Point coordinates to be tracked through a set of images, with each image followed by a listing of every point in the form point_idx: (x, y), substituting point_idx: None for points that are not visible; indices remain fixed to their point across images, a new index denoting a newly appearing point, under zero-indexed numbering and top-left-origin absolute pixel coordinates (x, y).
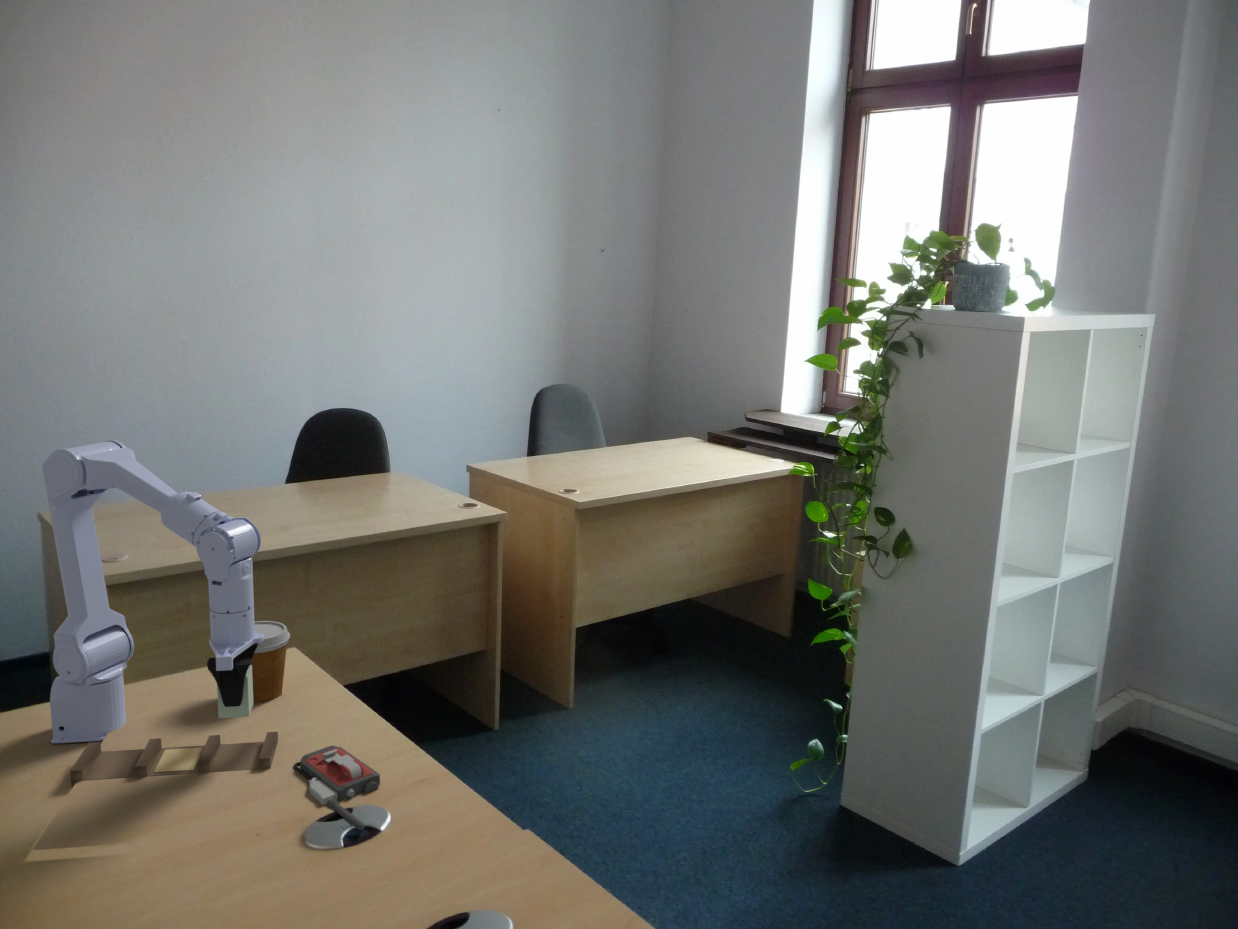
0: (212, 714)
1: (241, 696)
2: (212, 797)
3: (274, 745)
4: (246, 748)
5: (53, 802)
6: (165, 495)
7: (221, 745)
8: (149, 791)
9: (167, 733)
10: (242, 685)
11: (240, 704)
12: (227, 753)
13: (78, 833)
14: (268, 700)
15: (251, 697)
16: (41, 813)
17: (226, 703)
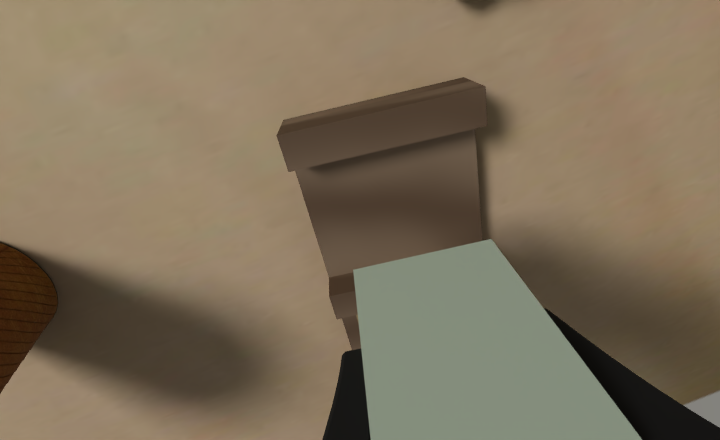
0: (138, 357)
1: (592, 344)
2: (570, 191)
3: (371, 111)
4: (345, 204)
5: None
6: None
7: (334, 273)
8: None
9: (262, 394)
10: (687, 411)
11: (551, 312)
12: (379, 241)
13: (651, 357)
14: (6, 263)
15: (415, 297)
16: None
17: None
